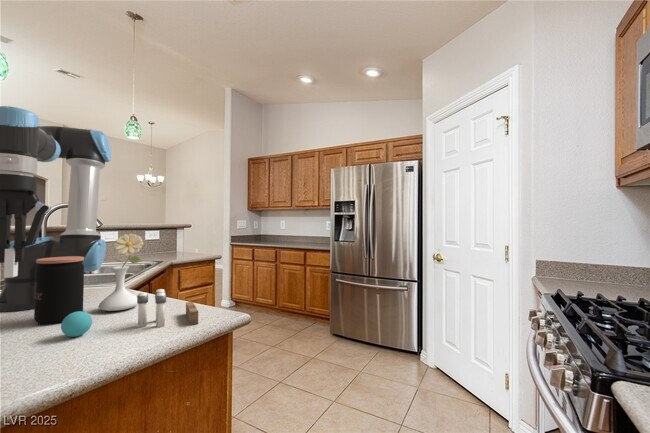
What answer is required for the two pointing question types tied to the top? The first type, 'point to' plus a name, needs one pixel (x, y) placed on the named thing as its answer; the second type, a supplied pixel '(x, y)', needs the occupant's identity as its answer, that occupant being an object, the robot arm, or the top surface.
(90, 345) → the top surface
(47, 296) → the coffee jar
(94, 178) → the robot arm
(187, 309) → the back wall
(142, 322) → the front pin
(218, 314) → the top surface
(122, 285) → the flower in vase
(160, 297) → the right back pin
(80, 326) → the ball
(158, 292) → the left back pin
